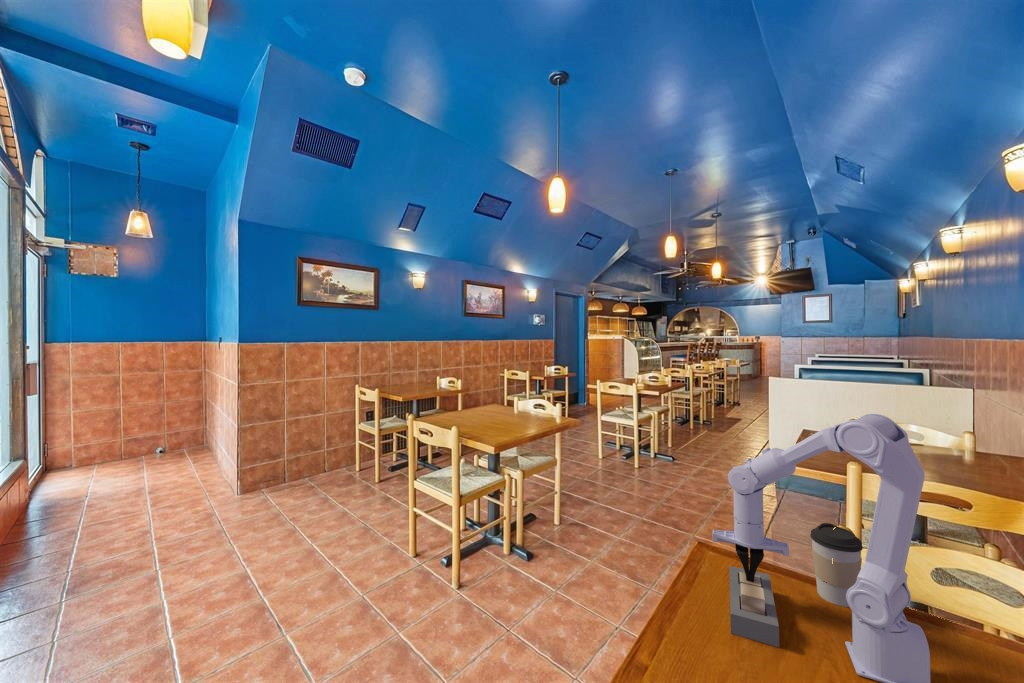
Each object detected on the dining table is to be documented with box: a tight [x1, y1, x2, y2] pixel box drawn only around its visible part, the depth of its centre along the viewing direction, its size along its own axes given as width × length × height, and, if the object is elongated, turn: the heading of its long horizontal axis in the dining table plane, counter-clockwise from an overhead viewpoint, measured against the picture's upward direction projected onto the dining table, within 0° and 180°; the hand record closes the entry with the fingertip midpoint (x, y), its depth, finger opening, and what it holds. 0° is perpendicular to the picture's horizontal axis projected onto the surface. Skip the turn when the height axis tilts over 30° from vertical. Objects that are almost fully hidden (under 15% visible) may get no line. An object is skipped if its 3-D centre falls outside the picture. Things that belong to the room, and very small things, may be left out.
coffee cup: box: [809, 522, 864, 608], centre depth 88 cm, size 9×9×15 cm
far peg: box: [739, 572, 761, 588], centre depth 88 cm, size 4×4×4 cm
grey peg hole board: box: [729, 565, 780, 648], centre depth 84 cm, size 8×18×4 cm, turn 152°
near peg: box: [741, 583, 765, 616], centre depth 80 cm, size 4×4×4 cm
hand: (749, 578), depth 88 cm, fingers closed, pressing on far peg
